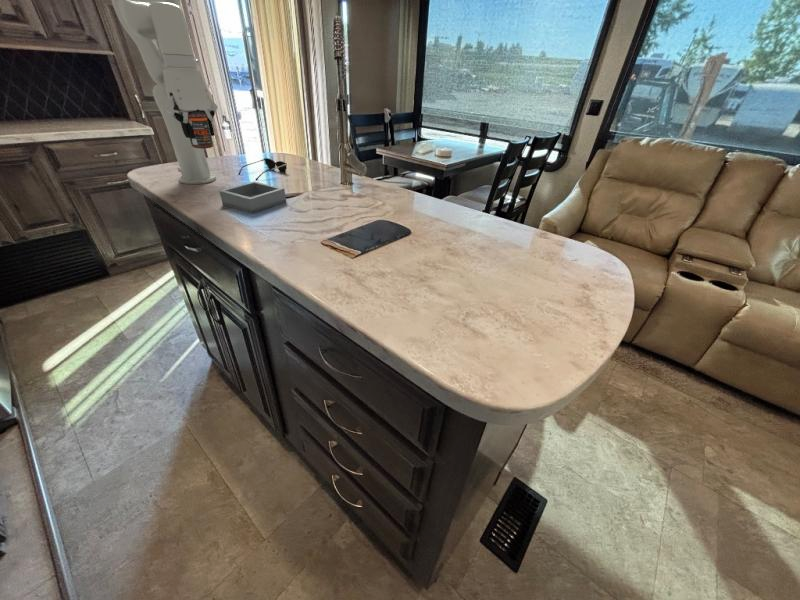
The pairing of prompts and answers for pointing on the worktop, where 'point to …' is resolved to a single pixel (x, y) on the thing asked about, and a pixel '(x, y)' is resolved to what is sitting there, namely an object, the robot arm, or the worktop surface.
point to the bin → (253, 196)
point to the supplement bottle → (200, 130)
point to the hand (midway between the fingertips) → (200, 135)
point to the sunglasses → (271, 166)
